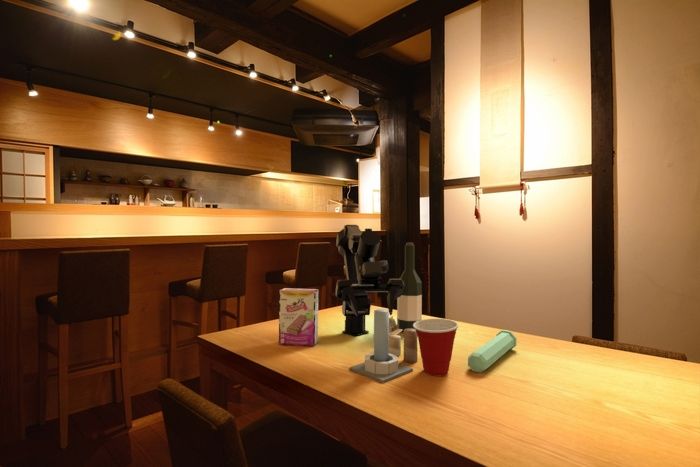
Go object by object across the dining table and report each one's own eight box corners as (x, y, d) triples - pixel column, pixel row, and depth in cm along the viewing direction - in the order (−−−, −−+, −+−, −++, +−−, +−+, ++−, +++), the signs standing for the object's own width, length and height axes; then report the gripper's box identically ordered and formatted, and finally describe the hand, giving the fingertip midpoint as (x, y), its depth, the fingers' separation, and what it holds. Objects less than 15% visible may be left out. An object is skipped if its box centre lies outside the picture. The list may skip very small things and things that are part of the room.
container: (481, 349, 91) (512, 327, 111) (459, 354, 95) (493, 332, 114) (490, 374, 90) (520, 347, 109) (468, 378, 93) (501, 351, 113)
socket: (379, 359, 101) (379, 347, 101) (412, 370, 93) (413, 358, 93) (349, 369, 94) (349, 357, 94) (382, 383, 86) (383, 369, 86)
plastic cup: (404, 367, 96) (404, 319, 96) (441, 362, 100) (441, 316, 100) (427, 383, 86) (428, 330, 86) (467, 377, 90) (468, 326, 89)
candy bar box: (278, 345, 113) (278, 290, 113) (282, 340, 118) (283, 287, 118) (315, 346, 112) (315, 291, 112) (318, 341, 117) (318, 288, 117)
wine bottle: (395, 332, 128) (395, 243, 128) (399, 326, 136) (399, 242, 136) (420, 334, 126) (420, 243, 125) (422, 328, 134) (423, 242, 133)
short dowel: (393, 351, 108) (393, 334, 108) (403, 354, 105) (403, 336, 105) (384, 354, 105) (385, 336, 105) (395, 357, 103) (395, 339, 103)
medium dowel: (409, 357, 103) (409, 327, 103) (420, 360, 101) (420, 330, 100) (400, 360, 101) (400, 330, 101) (411, 363, 98) (411, 333, 98)
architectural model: (402, 340, 120) (402, 317, 120) (394, 346, 114) (394, 321, 114) (392, 339, 122) (392, 316, 122) (384, 345, 116) (384, 320, 115)
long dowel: (377, 364, 96) (377, 308, 96) (390, 366, 94) (391, 310, 94) (371, 368, 93) (371, 311, 93) (384, 371, 91) (385, 313, 91)
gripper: (337, 250, 104) (342, 298, 93) (403, 250, 107) (415, 296, 96) (333, 275, 112) (338, 322, 101) (394, 274, 115) (405, 320, 104)
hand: (374, 314), depth 101 cm, fingers open, 9 cm apart
